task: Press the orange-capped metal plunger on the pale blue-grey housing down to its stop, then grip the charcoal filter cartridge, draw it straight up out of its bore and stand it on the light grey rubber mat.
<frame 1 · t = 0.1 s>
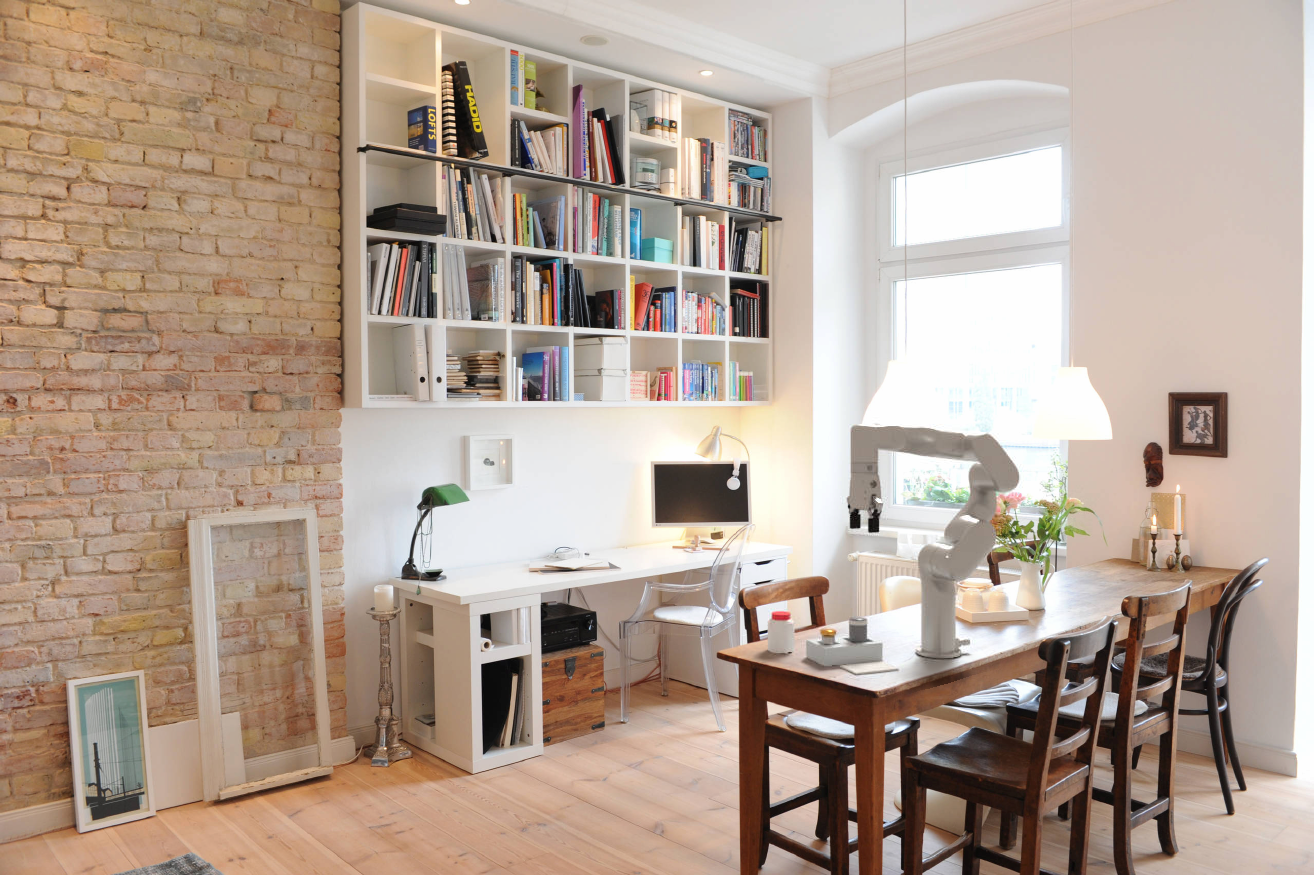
hand: (864, 530, 282), 37 cm above the table, tool pointing down, fingers open, 9 cm apart
mat: (869, 668, 275), on the table
housing: (844, 658, 286), on the table
plunger: (828, 641, 284), point 5 cm above the table, slide at 0.0 cm
pill bottle: (781, 651, 296), on the table
cartridge: (858, 657, 287), resting in housing
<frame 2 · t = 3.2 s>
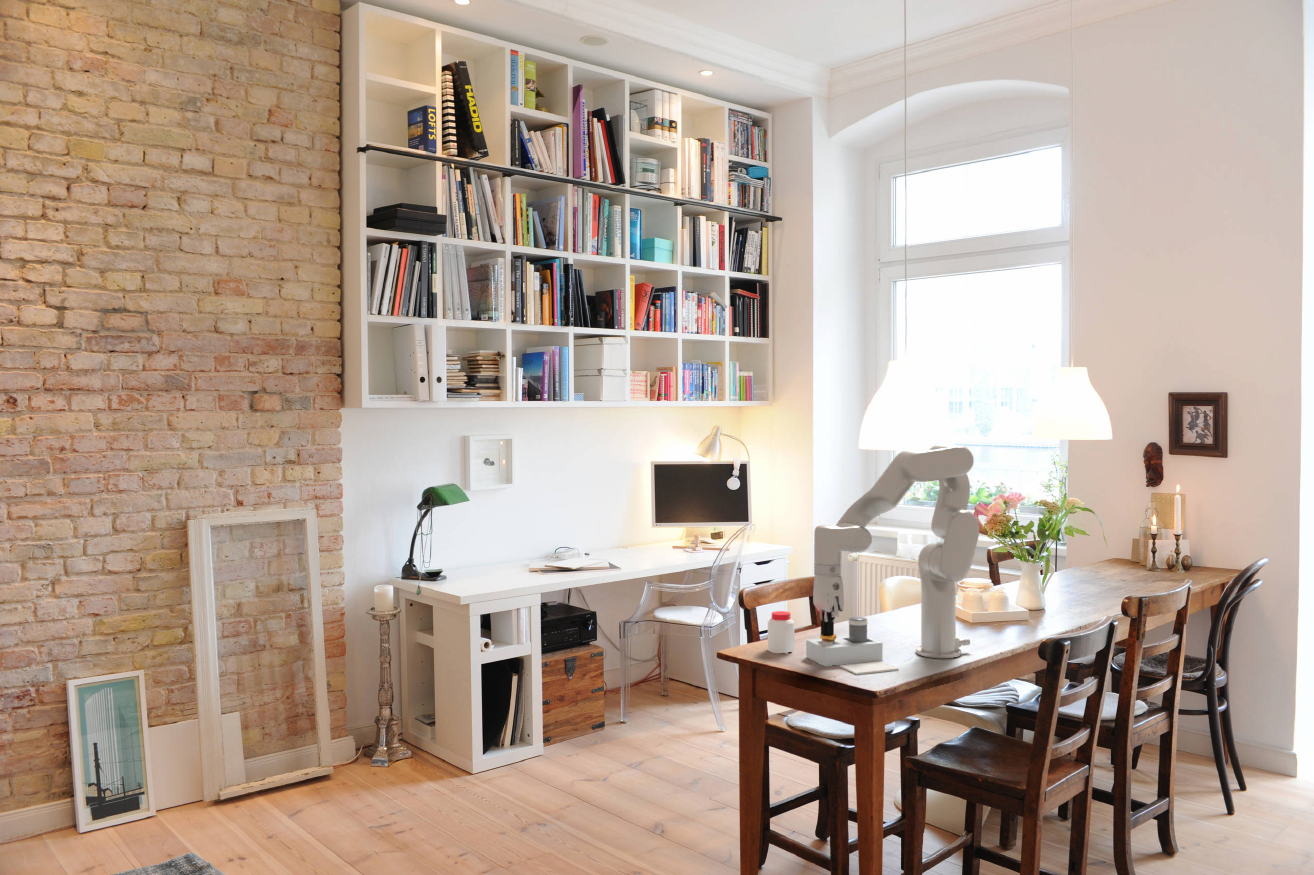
hand: (827, 634, 284), 7 cm above the table, tool pointing down, fingers closed
plunger: (828, 645, 284), point 4 cm above the table, slide at 1.3 cm, touching gripper
everything else where it was.
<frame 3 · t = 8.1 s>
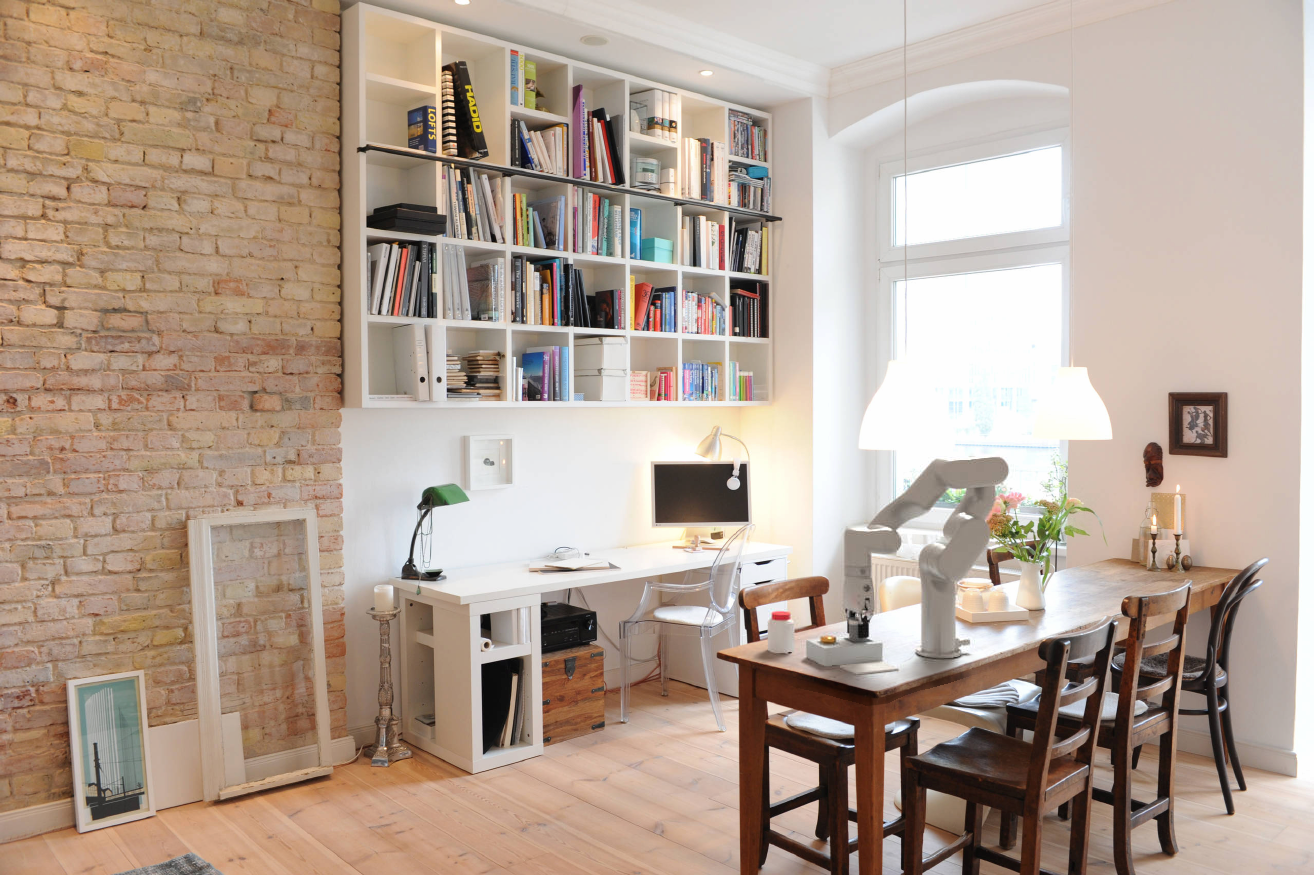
hand: (857, 634, 287), 6 cm above the table, tool pointing down, fingers closed on cartridge, 5 cm apart
plunger: (828, 648, 284), point 3 cm above the table, slide at 2.0 cm
cartridge: (858, 657, 287), resting in housing, touching gripper
everything else where it was.
when the fingers open (8 cm above the table, at t = 14.9 s): cartridge drops 1 cm, resting on mat.
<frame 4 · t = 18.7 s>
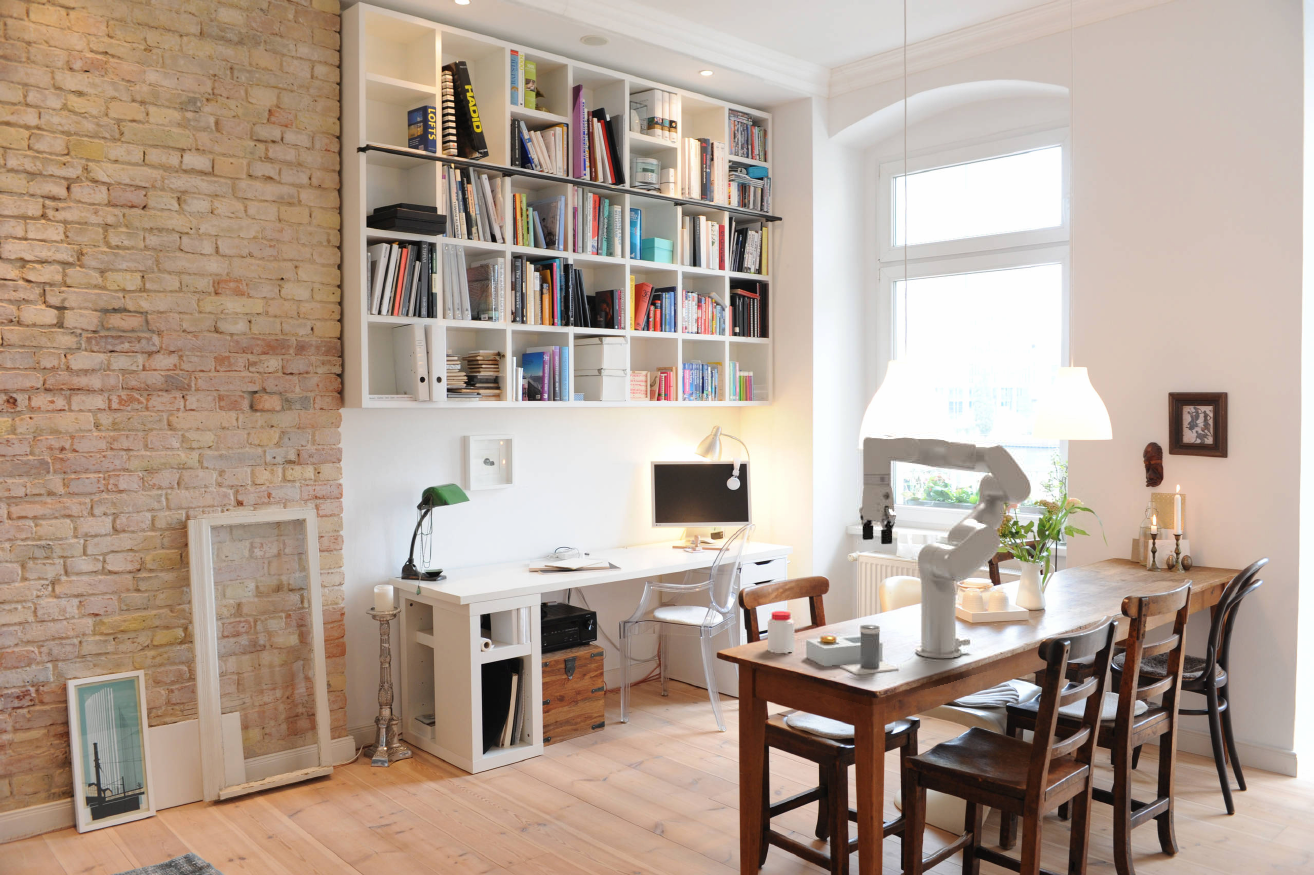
hand: (877, 541, 283), 33 cm above the table, tool pointing down, fingers open, 9 cm apart
cartridge: (869, 667, 275), point 1 cm above the table, touching mat
everything else where it was.
at the end: plunger slide at 2.0 cm; cartridge inside the target area (0.1 cm from its centre), point 0.5 cm above the table; cartridge tilted 0° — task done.
